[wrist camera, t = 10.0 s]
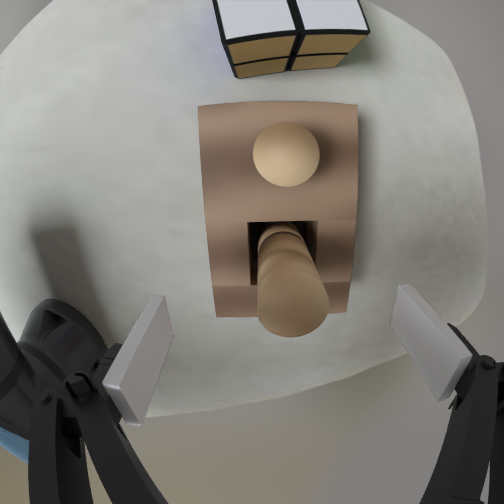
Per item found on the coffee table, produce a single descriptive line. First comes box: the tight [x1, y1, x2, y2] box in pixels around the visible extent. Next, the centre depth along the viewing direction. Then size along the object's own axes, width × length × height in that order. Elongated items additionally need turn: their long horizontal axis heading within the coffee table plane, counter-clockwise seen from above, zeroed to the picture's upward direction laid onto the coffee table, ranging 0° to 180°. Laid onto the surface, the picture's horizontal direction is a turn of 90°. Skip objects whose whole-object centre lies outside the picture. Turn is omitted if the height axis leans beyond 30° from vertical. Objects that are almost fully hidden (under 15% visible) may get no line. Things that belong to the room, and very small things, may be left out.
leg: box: [257, 221, 329, 337], centre depth 21 cm, size 4×4×14 cm
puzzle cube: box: [212, 0, 370, 79], centre depth 16 cm, size 10×10×10 cm
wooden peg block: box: [198, 101, 358, 317], centre depth 22 cm, size 18×12×10 cm, turn 2°
